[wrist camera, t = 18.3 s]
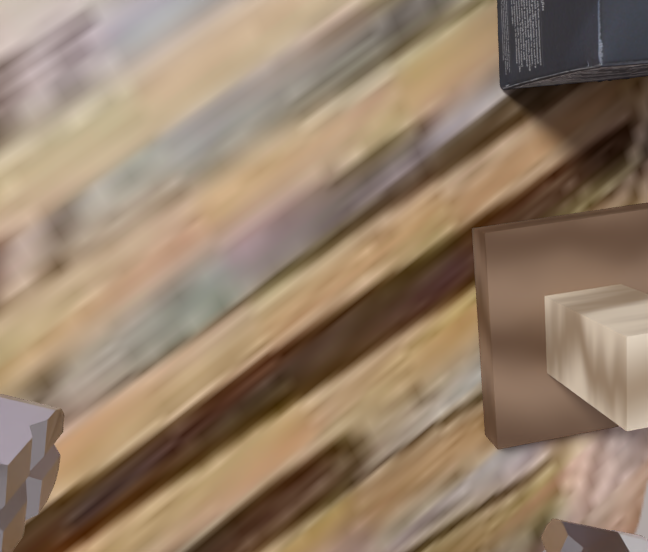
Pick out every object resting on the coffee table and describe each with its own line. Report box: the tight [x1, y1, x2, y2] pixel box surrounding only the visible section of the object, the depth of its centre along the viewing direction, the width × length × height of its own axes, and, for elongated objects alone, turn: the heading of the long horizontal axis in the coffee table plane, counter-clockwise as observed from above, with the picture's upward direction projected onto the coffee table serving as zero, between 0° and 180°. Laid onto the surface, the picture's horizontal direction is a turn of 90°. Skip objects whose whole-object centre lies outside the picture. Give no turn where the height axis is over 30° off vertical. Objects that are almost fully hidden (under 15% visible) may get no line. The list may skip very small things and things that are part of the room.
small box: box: [497, 0, 648, 90], centre depth 31 cm, size 11×6×10 cm, turn 96°
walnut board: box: [472, 203, 648, 449], centre depth 39 cm, size 14×12×2 cm
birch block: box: [544, 284, 648, 431], centre depth 34 cm, size 5×5×8 cm
